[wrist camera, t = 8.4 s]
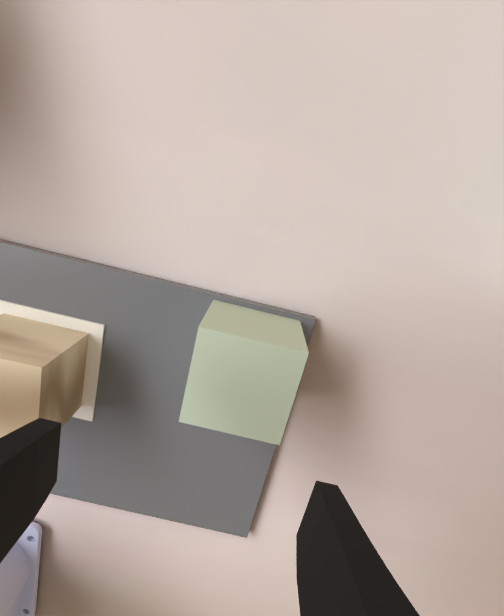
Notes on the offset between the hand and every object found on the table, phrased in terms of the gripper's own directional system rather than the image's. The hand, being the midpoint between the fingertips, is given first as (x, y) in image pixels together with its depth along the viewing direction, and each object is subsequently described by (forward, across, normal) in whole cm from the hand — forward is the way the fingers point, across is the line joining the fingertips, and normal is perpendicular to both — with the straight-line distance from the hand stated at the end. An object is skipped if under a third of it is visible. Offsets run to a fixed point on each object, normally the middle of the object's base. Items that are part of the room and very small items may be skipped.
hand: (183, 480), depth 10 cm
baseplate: (+10, +4, +5) cm, 11 cm away
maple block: (+9, +9, +3) cm, 13 cm away
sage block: (+9, -1, 0) cm, 9 cm away
